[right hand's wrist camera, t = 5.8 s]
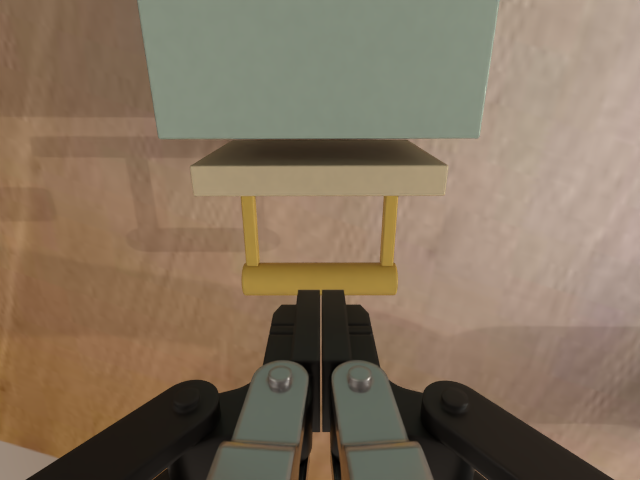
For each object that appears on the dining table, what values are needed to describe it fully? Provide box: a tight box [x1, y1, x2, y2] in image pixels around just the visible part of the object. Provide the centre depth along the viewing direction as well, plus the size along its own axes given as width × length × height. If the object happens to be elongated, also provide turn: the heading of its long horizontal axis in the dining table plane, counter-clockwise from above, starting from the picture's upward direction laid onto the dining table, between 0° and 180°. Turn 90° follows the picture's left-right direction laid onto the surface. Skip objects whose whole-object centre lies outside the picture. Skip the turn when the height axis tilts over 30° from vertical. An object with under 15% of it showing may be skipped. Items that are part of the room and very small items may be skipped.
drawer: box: [190, 140, 448, 295], centre depth 17 cm, size 22×10×8 cm, turn 0°
